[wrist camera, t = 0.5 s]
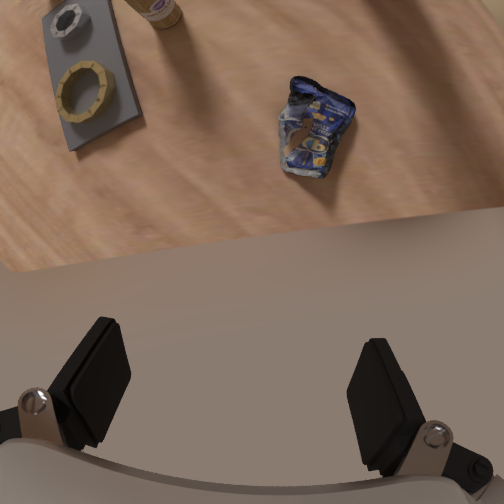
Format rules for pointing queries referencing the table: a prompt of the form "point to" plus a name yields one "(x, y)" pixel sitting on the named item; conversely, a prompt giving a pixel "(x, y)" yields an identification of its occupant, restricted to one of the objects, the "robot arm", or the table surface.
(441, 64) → the table surface
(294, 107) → the snack package
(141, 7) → the sprinkles bottle
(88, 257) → the table surface
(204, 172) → the table surface
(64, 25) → the steel collar
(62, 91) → the brass collar
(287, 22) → the table surface
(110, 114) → the mounting board
